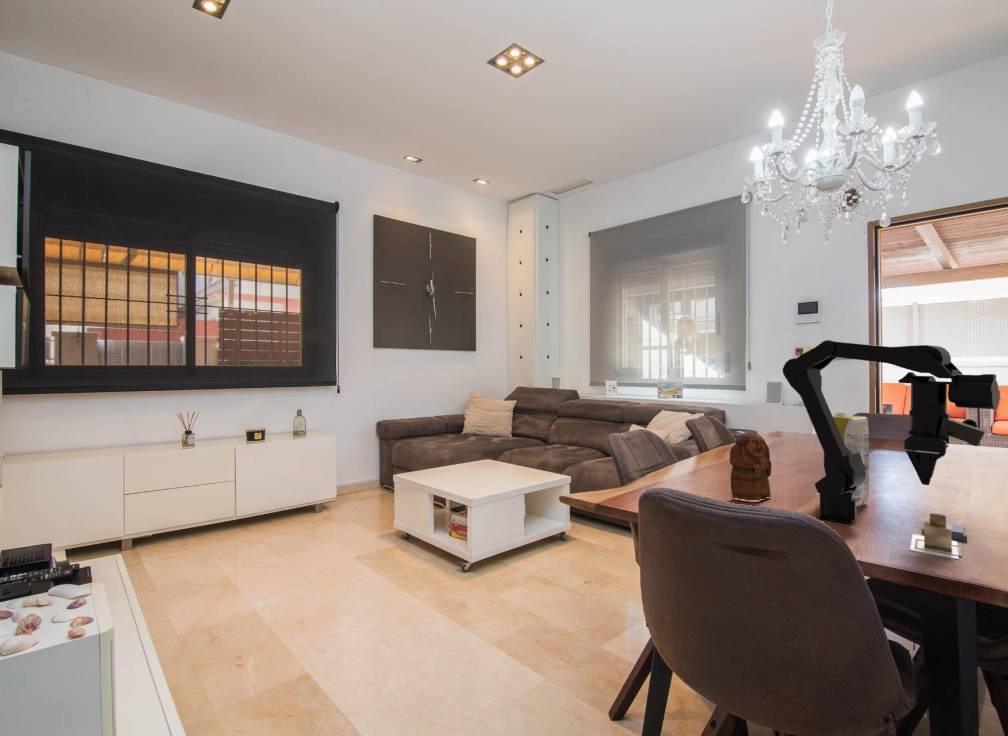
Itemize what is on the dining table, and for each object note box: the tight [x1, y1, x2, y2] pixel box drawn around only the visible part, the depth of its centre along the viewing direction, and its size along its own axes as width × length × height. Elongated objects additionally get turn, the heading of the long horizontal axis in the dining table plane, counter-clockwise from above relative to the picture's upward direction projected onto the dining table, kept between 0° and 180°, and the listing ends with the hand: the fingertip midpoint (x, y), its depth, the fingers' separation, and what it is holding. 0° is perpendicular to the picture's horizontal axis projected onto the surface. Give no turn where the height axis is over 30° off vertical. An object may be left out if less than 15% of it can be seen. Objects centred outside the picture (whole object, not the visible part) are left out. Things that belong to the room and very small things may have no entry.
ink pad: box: [921, 520, 968, 543], centre depth 107 cm, size 7×7×2 cm
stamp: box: [923, 512, 953, 553], centre depth 98 cm, size 4×4×6 cm
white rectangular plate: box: [909, 533, 962, 560], centre depth 99 cm, size 7×12×1 cm, turn 139°
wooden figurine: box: [729, 432, 772, 500], centre depth 135 cm, size 12×6×18 cm, turn 119°
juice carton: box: [824, 411, 870, 508], centre depth 130 cm, size 9×8×24 cm
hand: (927, 480), depth 104 cm, fingers open, 9 cm apart
